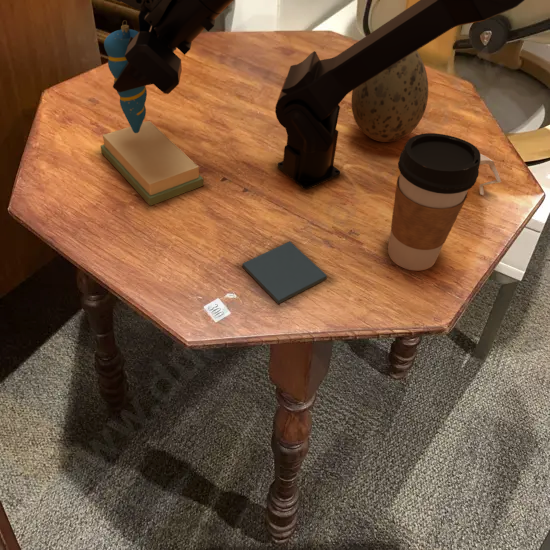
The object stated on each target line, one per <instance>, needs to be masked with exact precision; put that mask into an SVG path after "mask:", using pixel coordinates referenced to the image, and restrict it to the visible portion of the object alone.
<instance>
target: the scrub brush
mask: <svg viewBox="0 0 550 550" xmlns="http://www.w3.org/2000/svg"><path fill="white" fill-rule="evenodd" d="M102 139H103V144H101V145H100V151H101V154H102V155H103V156H104V157H105V158H106V159H107V160H108V161H109V163H110V164H111V165H112V166H113V167H114V168H115V169H116V170H117V171H118V172H119V174H120V175H121V176H122V177H123V178H124V179H125V180H126V181H127V182H128V184H130V186H131V187H132V188H133V189H134V190H135V191H136V192H137V193H138V195H140V196H141V198H142V199H143V200H144V201H145V202H146V203H147V204H148V205H149V206H150V207H151V206H154V205H157V204H159V203H163V202H165V201H167V200H169V199H173V198H175V197H177V196H180V195H183V194H185V193H188V192H190V191H193V190H196V189H198V188H201V187H203V186H204V183H205V182H204V177H202V175H200V166H199V165H198V164H197V163H196V162H195V161H193V159H191V158H190V157H189V156H188V155H187V154H186V153H185V152H184V151H183V150H182V149H181V148H180V147H178V146H177V144H175V143H174V142H173V141H172V140H171V139H170V138H169V137H168V136H167V135H166V134H165V133H163V131H162V130H160V129H159V128H158V126H156V125H155V124H154V123H153V122H152V121H150V120H147V121H143V123H142V125H141V127H140V131H139V132H138V133H134V132H133V130H132V128H131V126H130V125H129V126H127V127H124V128H121V129H117V130H113V131H110V132H108V133H104V134H102Z"/></svg>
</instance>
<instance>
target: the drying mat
mask: <svg viewBox="0 0 550 550" xmlns="http://www.w3.org/2000/svg"><path fill="white" fill-rule="evenodd" d="M241 267H242V268H243V269H244V270H245V271H246V272H247V273H248V275H250V276H251V277H252V279H254V281H255V282H256V283H257V284H258V285H259V286H260V287H261V288H262V289H263V290H264V291H265V292H266V293H267V294H268V295H269V296H270V297H271V298H272V299H273V301H275V302H276V304H280V303H283V302H285V301H286V300H289V299H291V298H292V297H295V296H296V295H299V294H301V293H302V292H304V291H306V290H308V289H310V288H312V287H314V286H316V285H318V284H320V283H322V282H324V281H326V280H327V279H328V275H327V274H326V273H325V272H324V271H323V270H322V269H321V268H320V267H318V266H317V265H316V264H315V263H314V262H313V261H312V260H311V259H310V258H309V257H308V256H307V255H305V254H304V253H303V251H301V250H300V249H299V248H298V247H297V246H295V244H293V242H292V241H287V242H285V243H283V244H281V245H279V246H276V247H275V248H272V249H271V250H269V251H268V250H267V251H266V252H264V253H262V254H259V255H258V256H255V257H253V258H251V259H249V260H247V261H245V262H242V263H241Z"/></svg>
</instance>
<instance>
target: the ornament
mask: <svg viewBox="0 0 550 550" xmlns="http://www.w3.org/2000/svg"><path fill="white" fill-rule="evenodd" d="M124 22H125V24H124ZM121 24H122V25H121V26H120V29H118V30H115V31H112V32H110V33H109V34H108V35H107V36H106V37H105V39H104V41H103V47H104V50H105V52H106V55H107V56H108V58H107V59H108V60H107V65H108V69H109V72H110V73H111V75H112V76H113V78H114V79H113V84H114V83H115V81H116V80H117V78H118V76H119V75H120V73H121V72H122V70H123V68H124V67H125V65H126V64H127V62H128V61H127V59H126V58H125V53H126V50H127V46H128V43H129V40H130V37H132V38H134V37H135V36H136V35H137V34H138V33H139V31H138V30H135V29H131V28H130V25H129V24H128V21H127V20H126V19H125V20H123V21H122V23H121ZM116 92H117V94H118V96H119V105H120V108H121V110H122V112H123V114H124V117H125V118H126V120H127V122H128V124H129V127H130V126H131V128H132V130H133V132H134V133H138V132H139V131H140V127H141V125H142V123H143V122H144V121H145V118H146V114H147V109H146V102H147V98H148V97H147V96H148V93H147V92H148V91H147V87H146V86H142V87H138V88H135V89H131V90H127V91H124V92H118V91H116Z"/></svg>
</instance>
